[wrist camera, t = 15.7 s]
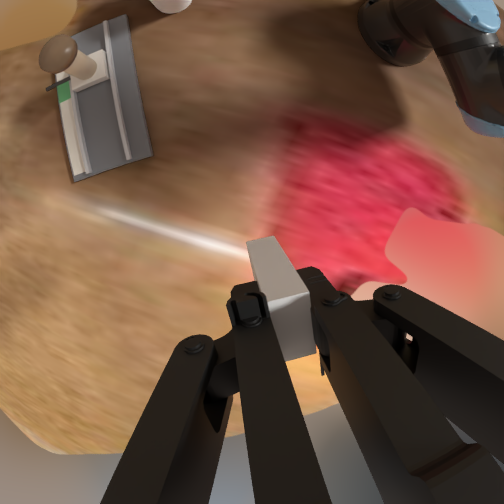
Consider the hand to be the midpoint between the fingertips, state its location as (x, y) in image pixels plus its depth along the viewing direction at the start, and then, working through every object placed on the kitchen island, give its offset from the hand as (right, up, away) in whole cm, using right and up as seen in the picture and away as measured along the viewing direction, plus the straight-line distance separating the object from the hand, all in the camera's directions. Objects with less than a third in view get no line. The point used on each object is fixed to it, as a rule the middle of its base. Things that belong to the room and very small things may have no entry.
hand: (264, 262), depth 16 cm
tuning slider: (-28, +28, +19) cm, 44 cm away
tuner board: (-26, +27, +22) cm, 43 cm away
